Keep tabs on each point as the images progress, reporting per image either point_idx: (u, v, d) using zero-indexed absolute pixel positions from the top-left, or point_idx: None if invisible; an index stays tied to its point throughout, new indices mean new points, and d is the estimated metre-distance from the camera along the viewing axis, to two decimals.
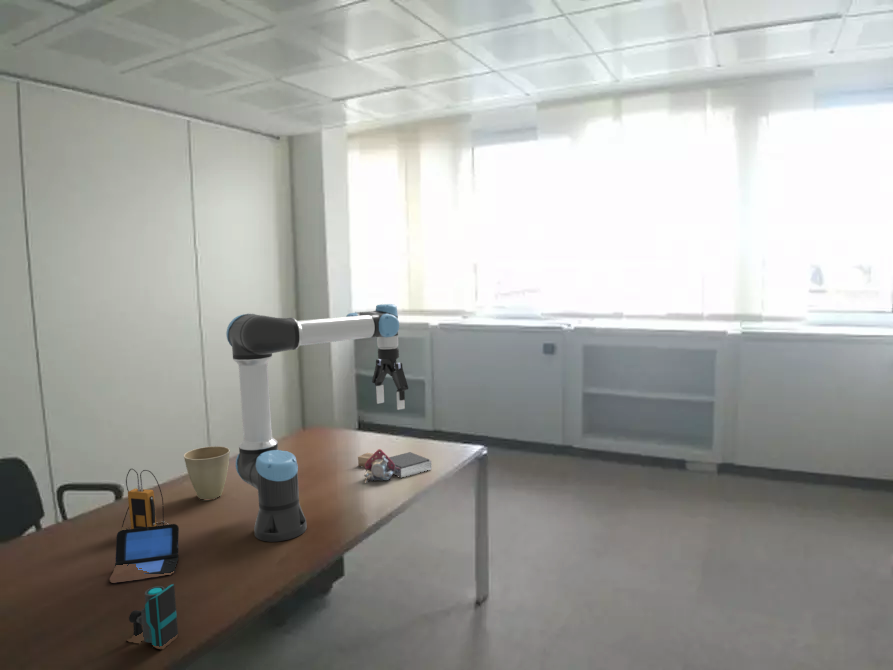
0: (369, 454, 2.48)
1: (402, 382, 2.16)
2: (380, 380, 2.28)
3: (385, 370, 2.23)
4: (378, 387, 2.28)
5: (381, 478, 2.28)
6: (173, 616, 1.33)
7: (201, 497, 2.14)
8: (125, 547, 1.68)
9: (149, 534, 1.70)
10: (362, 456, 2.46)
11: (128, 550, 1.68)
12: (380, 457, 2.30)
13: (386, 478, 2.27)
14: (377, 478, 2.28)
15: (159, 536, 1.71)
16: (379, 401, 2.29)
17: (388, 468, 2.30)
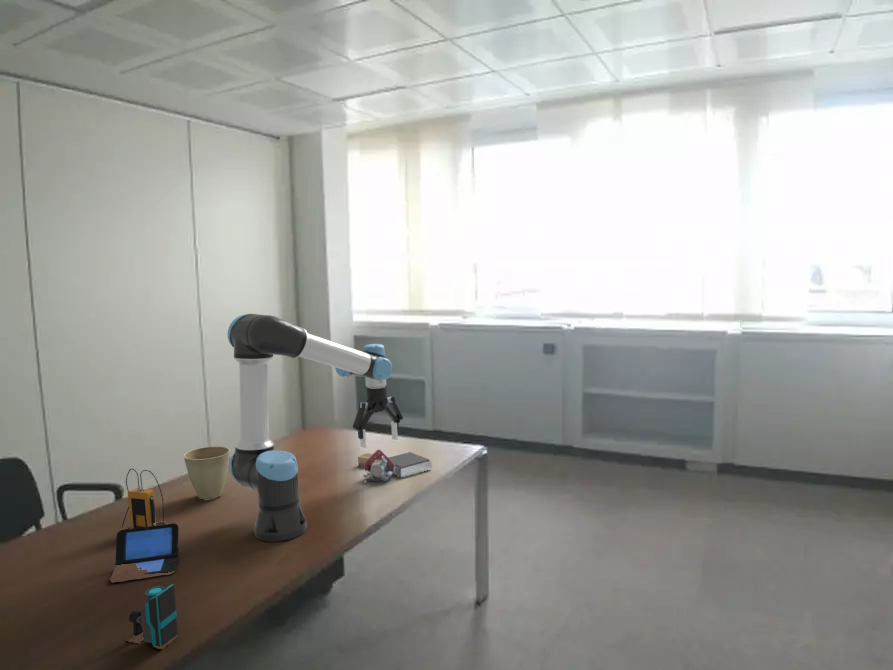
0: (369, 454, 2.48)
1: (355, 421, 2.23)
2: (390, 417, 2.32)
3: None
4: (392, 423, 2.33)
5: (380, 478, 2.27)
6: (173, 616, 1.33)
7: (201, 497, 2.14)
8: (125, 546, 1.68)
9: (149, 534, 1.71)
10: (362, 456, 2.46)
11: (128, 550, 1.68)
12: (379, 457, 2.29)
13: (385, 478, 2.27)
14: (376, 478, 2.27)
15: (159, 536, 1.71)
16: (392, 437, 2.34)
17: (387, 468, 2.29)
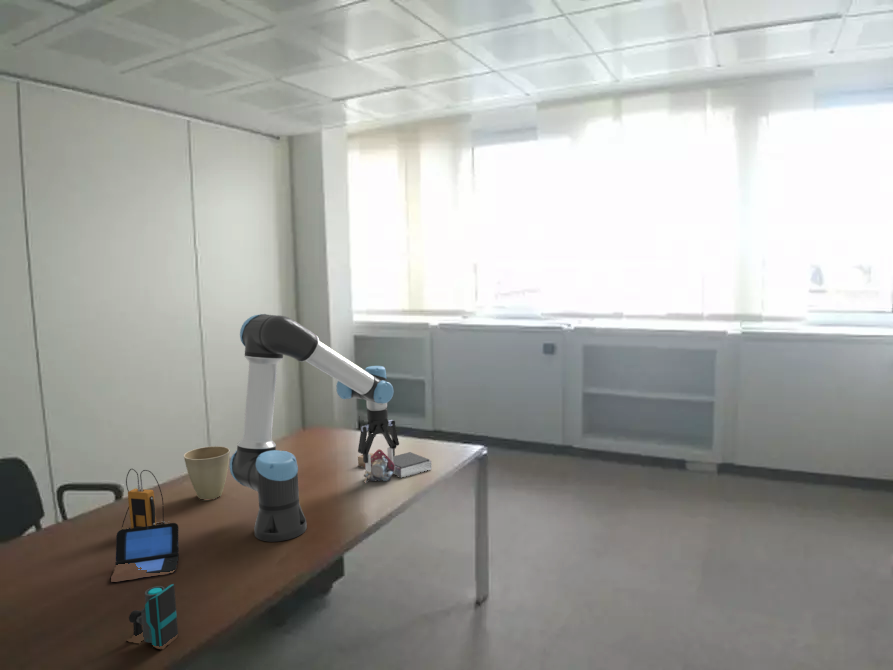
0: None
1: (359, 445, 2.25)
2: (387, 441, 2.32)
3: None
4: (388, 449, 2.33)
5: (381, 478, 2.27)
6: (173, 616, 1.33)
7: (201, 497, 2.14)
8: (125, 546, 1.68)
9: (149, 533, 1.71)
10: (362, 456, 2.46)
11: (128, 549, 1.68)
12: (380, 457, 2.29)
13: (386, 478, 2.27)
14: (377, 478, 2.27)
15: (159, 535, 1.71)
16: None
17: (388, 468, 2.29)
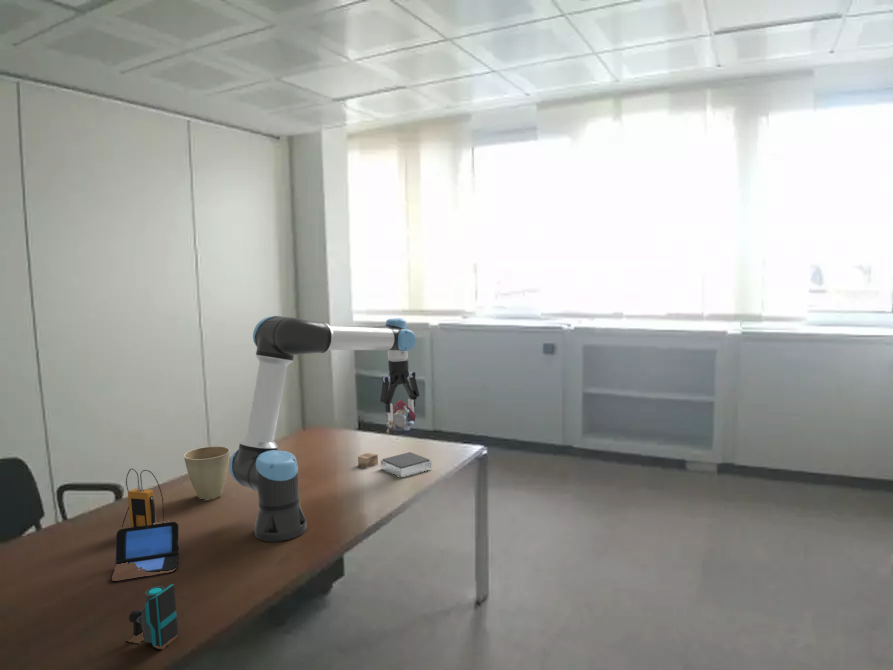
0: (369, 454, 2.48)
1: (381, 395, 2.31)
2: (408, 393, 2.38)
3: None
4: (408, 400, 2.39)
5: (402, 428, 2.34)
6: (173, 616, 1.33)
7: (201, 497, 2.14)
8: (125, 545, 1.69)
9: (149, 533, 1.71)
10: (362, 455, 2.46)
11: (128, 548, 1.68)
12: (401, 408, 2.36)
13: (407, 428, 2.33)
14: (399, 428, 2.34)
15: (159, 534, 1.72)
16: None
17: (409, 418, 2.36)
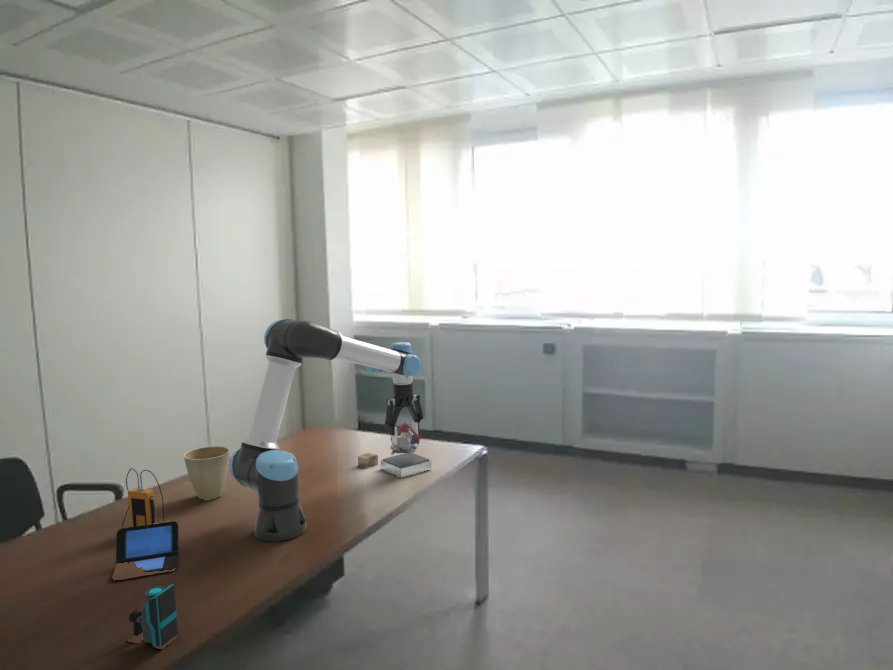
0: (369, 454, 2.48)
1: (386, 418, 2.33)
2: (412, 415, 2.41)
3: None
4: (412, 423, 2.42)
5: (407, 450, 2.36)
6: (173, 616, 1.33)
7: (201, 497, 2.14)
8: (125, 545, 1.69)
9: (149, 532, 1.72)
10: (362, 455, 2.46)
11: (128, 548, 1.69)
12: (405, 430, 2.38)
13: (411, 450, 2.36)
14: (403, 450, 2.36)
15: (159, 534, 1.72)
16: None
17: (413, 441, 2.38)
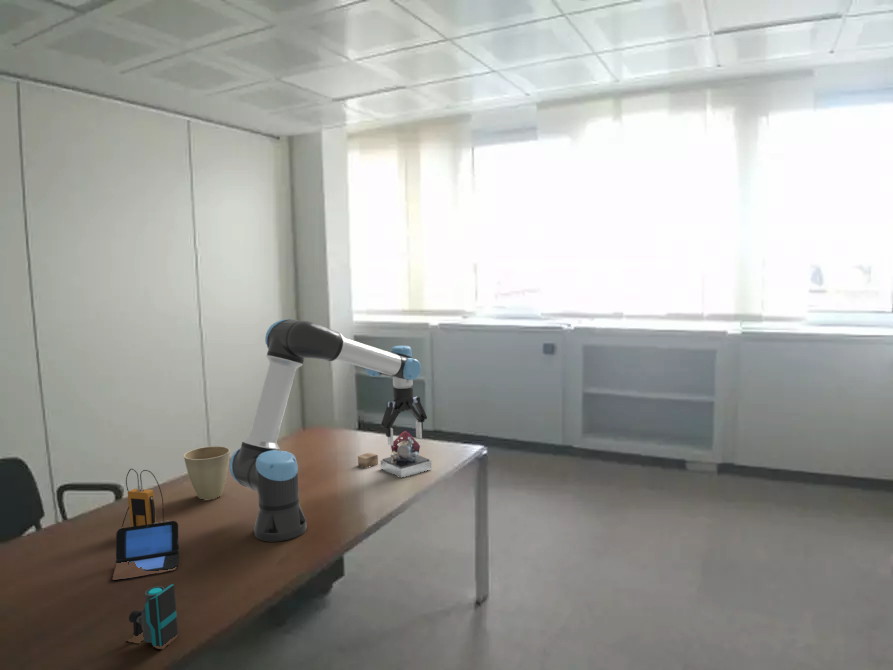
0: (370, 454, 2.48)
1: (383, 420, 2.33)
2: (415, 416, 2.42)
3: None
4: (416, 422, 2.43)
5: (407, 458, 2.36)
6: (173, 616, 1.33)
7: (201, 497, 2.14)
8: (125, 545, 1.69)
9: (149, 532, 1.72)
10: (362, 455, 2.46)
11: (128, 548, 1.69)
12: (406, 438, 2.39)
13: (412, 458, 2.36)
14: (403, 458, 2.37)
15: (159, 533, 1.73)
16: (417, 436, 2.43)
17: (413, 449, 2.38)
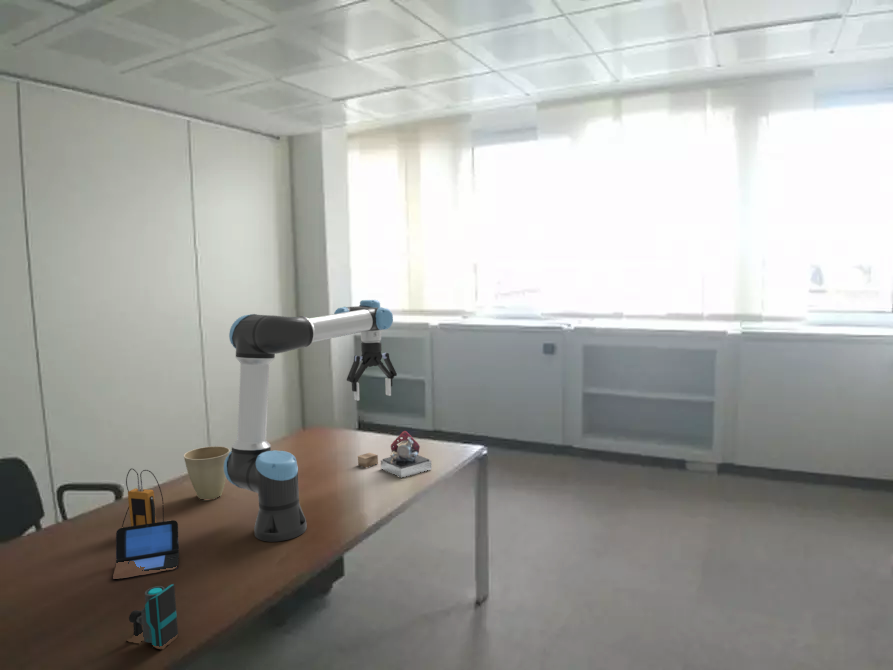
0: (370, 454, 2.48)
1: (349, 374, 2.28)
2: (385, 373, 2.37)
3: None
4: (385, 379, 2.38)
5: (406, 459, 2.36)
6: (173, 616, 1.33)
7: (201, 497, 2.14)
8: (125, 544, 1.69)
9: (149, 531, 1.72)
10: (362, 455, 2.46)
11: (128, 547, 1.69)
12: (405, 439, 2.38)
13: (411, 459, 2.36)
14: (403, 459, 2.36)
15: (159, 532, 1.73)
16: (386, 393, 2.38)
17: (413, 449, 2.38)
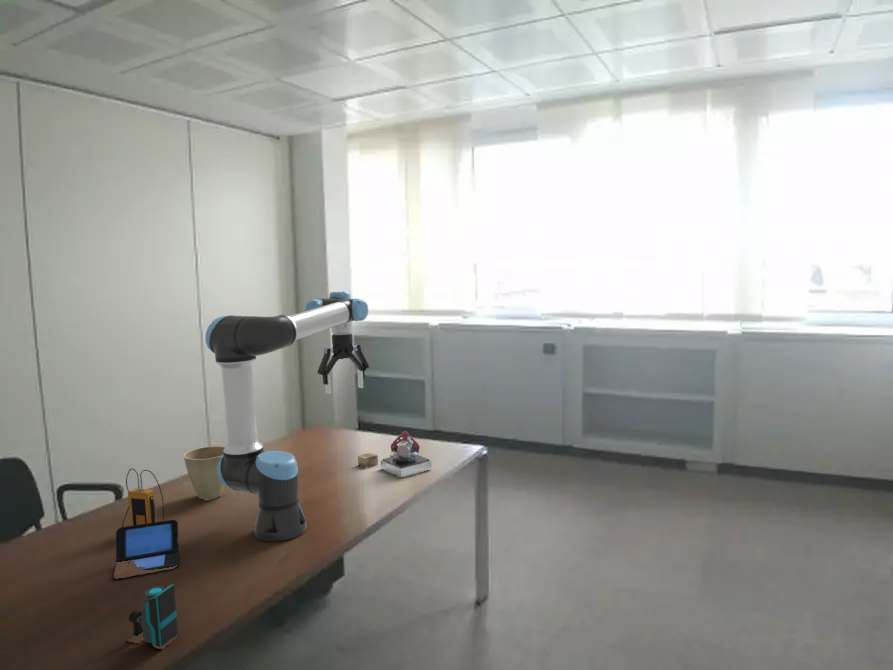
0: (370, 454, 2.48)
1: (320, 366, 2.25)
2: (356, 365, 2.34)
3: None
4: (358, 371, 2.35)
5: (406, 459, 2.36)
6: (173, 616, 1.33)
7: (201, 497, 2.14)
8: (125, 544, 1.70)
9: (149, 531, 1.73)
10: (362, 455, 2.46)
11: (128, 547, 1.70)
12: (405, 439, 2.38)
13: (411, 459, 2.36)
14: (402, 459, 2.36)
15: (159, 532, 1.73)
16: (358, 385, 2.36)
17: (413, 449, 2.38)
